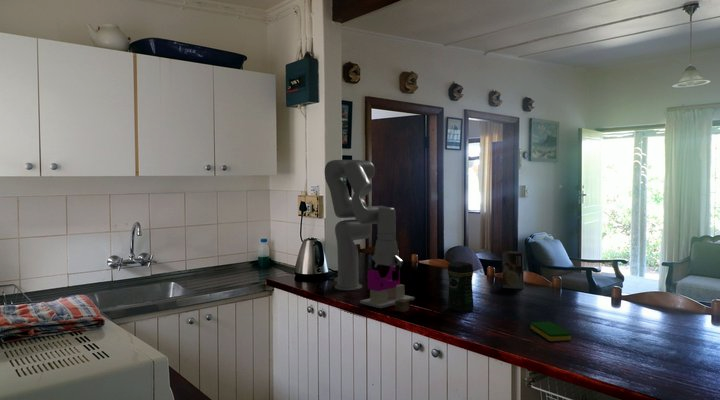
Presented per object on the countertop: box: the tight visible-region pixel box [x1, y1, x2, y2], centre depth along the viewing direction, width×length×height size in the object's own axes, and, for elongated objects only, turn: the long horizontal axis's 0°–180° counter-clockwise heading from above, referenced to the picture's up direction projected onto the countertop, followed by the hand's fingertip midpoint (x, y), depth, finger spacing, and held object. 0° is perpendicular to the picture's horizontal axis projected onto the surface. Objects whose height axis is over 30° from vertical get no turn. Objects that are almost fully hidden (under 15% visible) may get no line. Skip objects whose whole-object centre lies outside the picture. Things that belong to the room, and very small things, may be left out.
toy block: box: [366, 266, 401, 291], centre depth 214 cm, size 15×6×8 cm, turn 132°
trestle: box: [359, 283, 416, 309], centre depth 214 cm, size 12×20×6 cm, turn 132°
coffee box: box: [501, 250, 525, 290], centre depth 237 cm, size 9×6×16 cm
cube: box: [394, 299, 410, 313], centre depth 200 cm, size 4×4×4 cm
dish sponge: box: [530, 321, 572, 342], centre depth 168 cm, size 7×14×2 cm, turn 7°
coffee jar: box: [447, 260, 474, 313], centre depth 200 cm, size 10×8×19 cm
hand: (387, 278), depth 214 cm, fingers open, 9 cm apart
